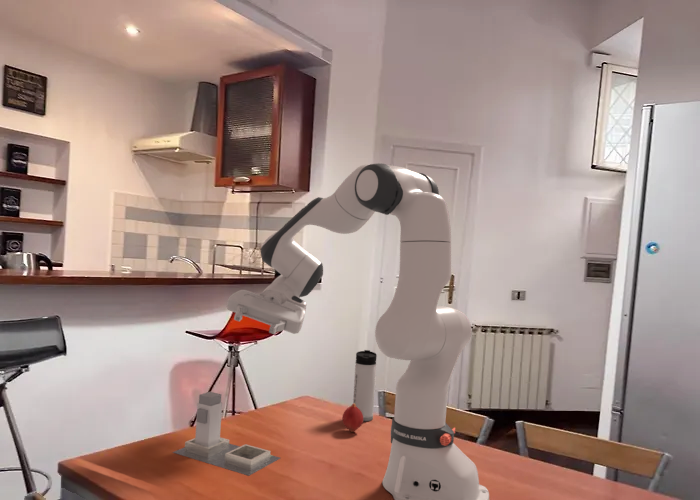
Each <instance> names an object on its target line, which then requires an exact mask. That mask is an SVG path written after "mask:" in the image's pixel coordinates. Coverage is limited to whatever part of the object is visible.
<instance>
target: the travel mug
mask: <svg viewBox="0 0 700 500" xmlns="http://www.w3.org/2000/svg"><path fill="white" fill-rule="evenodd" d="M377 357H378V356H377V353H376V352H373V351H371V350H369V349H364V350H362V351H361V350H360V351H357V352H356V353H355V368H354V383H353V399H352V404H353V403H355V404H356V407H358V408H359V409H360V410H361V412H362V414H363V422H371V421H372V420H373V418H374V408H375V407H374V405H375V404H374V403H375V389H376V388H375V387H376V376H377V375H376V373H377V372H376V371H377Z"/></svg>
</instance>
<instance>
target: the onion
mask: <svg viewBox="0 0 700 500" xmlns="http://www.w3.org/2000/svg"><path fill="white" fill-rule="evenodd" d="M342 424H343V425H344V427H345V428H346V429H347V430H348V431H349V432H351V433H354V432H355V431H357V430H358V429H359V428H361V427H362V425H363V424H364V421H363V414H362V412H361V410H360V409H359V408H358V407H356V404H355V403H353V402H352V405H350V406H349V407H347V408H346V409H345V410H344V412H343V414H342Z"/></svg>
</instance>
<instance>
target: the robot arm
mask: <svg viewBox="0 0 700 500" xmlns="http://www.w3.org/2000/svg"><path fill="white" fill-rule="evenodd" d="M439 193H440V192H439V187H438V184H437V183H436V181H434V179H433V178H432V177H430V176H428V175H427V174H424V173H421V172H416V171H414V170H411V169H408V168H407V167H404V166H398V165H389V164H385V163H379V162H378V163H371V164H362V165H360V166H358V167H356V169H354V170H353V171H352V172H351V173H350V174H349V175H348V176H347V177H346V178H345V179H344V180H343V182H342V183H341V184H340V185H339V186H338V187H337V188H336V190H335V191H334V192H333V193H332V194H331V195H329V196H327V197H324V198H323V197H318V196H317V197H315V198H313V199H312V200H310V201H309V202H308V203H307V204H306V205H305V206H304V207H303V208H301V209H300V210H299V211H298V212H297V213H296V214H294V216H293V217H291V218H290V220H288V221H287V222H286V223H285V224H284V225H282V227H281V228H280V229H279V230H278V231H276V232H274V233H272V234H271V235H270V236H269V237H267V238H266V239H265V241H264V242H263V243H262V244H261V248H260V250H259V251H260V256H261V260H262V262H263V263H265V264H266V265H267V266H269V267H270V268H272V269H274V270H275V271H276V272H278V274H280V275H278V276H277V277H276V278H275V279H274V280H273V281H272V282H271V283H270V284H269V285H267V287H266V288H265V289H264V290H263V291H262V292H260V293H257V292H253V291H250V290H247V289H240V290H237V291H236V292H234V293H231V295H229V296H228V298H227V302H226V308H227V310H228V311H229V312H233V313H234V318H233V320H234V321H236V322H241V321H242V320H243V317H245V318H246V317H247V318H249V319H251V320H255V321H257V322H260V323H263V324H265V325H268V326H269V331H268V333H269V334H272V335H275V334H276V333H278V332H282V331H285V332H288V333H291V334H294V335H295V334H299V333H300V331H301V330H302V326H303V323H304V319H305V315H306V309H307V302H306V301H305V300H304V299H302V297H306V296H308V295H309V294H310V293H311V292H312V291H313V290H314V289H315V287H316V286H317V285H319V282H320V281H321V279H322V277H323V275H324V264H323V263H322V261H321V260H319V259H318V258H317V257H315V256H314V255H313V254H312V253H311V252H309V251H308V250H307V249H305V248H304V246H302V245H300V244H299V242H297V241H296V239H294V236H296V235H297V234H298V233H299V232H300V231H302V230H303V228H305V227H306V226H310V225H311V226H317V227H320V228H323V229H326V230H328V231H330V232H332V233H337V234H341V235H342V234H343V235H345V234H346V235H347V234H349V235H350V234H352V233H356V232H357V231H359V230H360V229H361V228H362V227H364V225H366V223H367V222H369V220H370V219H371V218H372V217H373V215H374V214H375V212H377V213H380V214H383V215H392V216H395V217H396V218H397V219H398V221H399V225H400V240H399V241H400V243H399V247H400V248H399V252H400V253H399V271H398V273H399V274H398V281H397V286H396V289H395V293H394V295H393V298H392V299H391V303H390V305H388V308H387V310H385V312H384V313H383V314H382V315H381V316H380V317H379V319H377V320H378V321H377V322H376V326H375V329H374V330H375V331H374V333H375V335H374V336H375V341H376V345H377V347H378V349H379V350H380V351H381V353H382V354H383V355H384V356H386V357H388V358H391V359H396V360H400V361H401V360H402V361H410V362H409V364H408V366H407V368H406V370H405V372H403V374H402V375H401V376H400V377H399V379H398V380H397V383H396V386H395V399H394V401H395V402H394V413H393V414H394V416H393V417H392V419H391V427H390V444H391V447H390V454H389V458H388V463H387V468H386V469H385V474H384V475H383V476H384V477H383V479H382V486H383V488H384V489H385V490H386V491H387V492H388V493H390V494H391V495H392V497H393V499H394V500H490V492H489V490H488V489H487V487H486V486H485V485H482V484H480V479H479V471H478V468H477V466H476V464H475V462H473V460H471V459H470V457H468V456H467V455H466V454H465V453H464V452H463V451H462V450H461V449H460V448H459V447H458V446H457V445H456V444H455V443H454V438H455V434H456V427H453V428H451V427H450V426H449V424H447V422H446V417H447V408H448V407H447V405H448V404H447V403H448V396H449V394H448V393H449V388H450V383H451V380H452V376H453V373H454V370H455V368H456V365H457V362H458V359H459V358H460V357H459V356H460V355H461V353H462V352H463V350H464V349H465V347H467V346H468V343H469V342H470V341H471V338H472V324H471V322H470V319H469V318H468V316H467V315H466V313H464V312H463V311H461V310H459V309H457V308H453V307H450V306H447V305H438V303H439V298H440V296H441V293H442V291H443V289H444V288H445V286H446V285H448V283H449V282H450V280H451V278H452V231H451V230H452V229H451V220H450V215H449V209H448V204H447V201H446V200H445V198H444V197H442V196H441V195H440V194H439Z"/></svg>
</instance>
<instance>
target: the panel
mask: <svg viewBox="0 0 700 500" xmlns="http://www.w3.org/2000/svg"><path fill="white" fill-rule="evenodd" d="M271 452H272V451H271V450H269V449H264V448H261V447H257V446H253V445H250V444H247V443H246V444H242V445H241V446H240V445H236V444H232V443H230V439H229V438H224V437H221V436H220V443H218V444H215V445H213V446H211V447H205V446H202V445H198V444H195V437H194V438H192V439H188V440H187V441H185V442H184V447H182V448H180V449H177V450H174V451H172V453H173V454H176V455H180V456H182V457H187V458H189V459H192V460H196V461H199V462H202V463H206V464H209V465H212V466H216V467H218V468H222V469H226V470H228V471H232V472H235V473H239V474H241V475H245V476H248V477H249V476H251V475H253V474H255V473H257V472H258V471H260V470H262V469H265V468H267V466H270V465H271V464H273V463H276V462H277V461H279V460H280V459H281V457H279V456H277V455H273V454H271Z"/></svg>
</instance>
